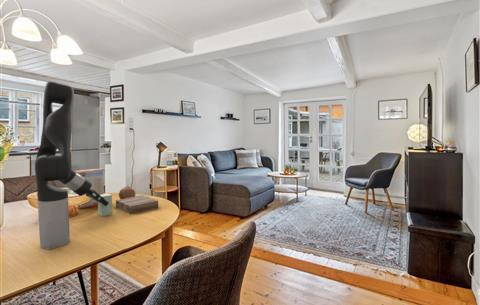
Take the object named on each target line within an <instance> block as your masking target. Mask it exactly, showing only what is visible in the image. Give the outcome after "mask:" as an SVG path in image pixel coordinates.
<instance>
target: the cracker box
mask: <svg viewBox="0 0 480 305" xmlns="http://www.w3.org/2000/svg"><path fill="white" fill-rule="evenodd" d="M73 171H74V172H76V173H77V174H79V175H81V176H82V177H83V178H85V179H86V180H87V181H89V182H90V183H91V184H92V186H91V188H90V189H93V190H95V191H96V192H97V193H98V194H100V195H101V194H105V187H104V186H105V184H104V169H103V168H91V169H80V170H73ZM75 194H76V193H75V192H74V195H75ZM94 206H98V202H97V201H95V200H93V199H92V198H91V199H90V200H89V201H88V202H86V203H84V204H81V205H78V206H77V208H76V209H79V210H80V209H85V208H90V207H94Z"/></svg>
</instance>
